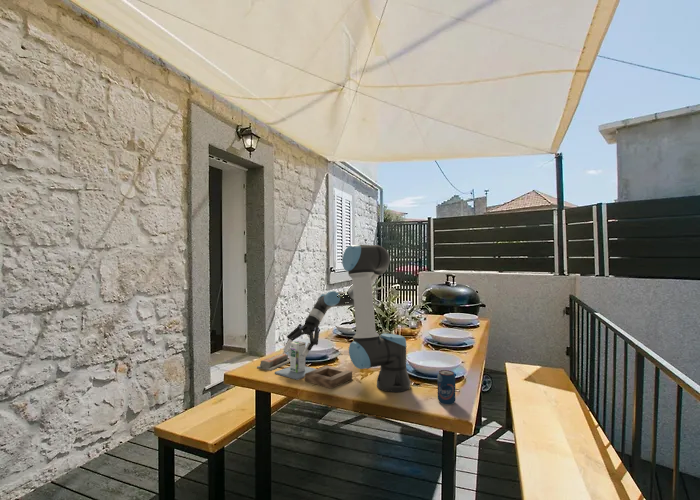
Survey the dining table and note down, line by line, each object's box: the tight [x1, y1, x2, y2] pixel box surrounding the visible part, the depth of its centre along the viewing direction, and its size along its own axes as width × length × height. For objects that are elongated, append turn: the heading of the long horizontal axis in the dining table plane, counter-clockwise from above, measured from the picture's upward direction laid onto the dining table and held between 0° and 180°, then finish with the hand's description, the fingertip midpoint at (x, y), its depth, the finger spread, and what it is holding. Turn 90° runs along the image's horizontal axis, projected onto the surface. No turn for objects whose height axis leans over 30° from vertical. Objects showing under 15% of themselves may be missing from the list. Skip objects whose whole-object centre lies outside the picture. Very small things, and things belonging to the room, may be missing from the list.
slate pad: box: [274, 365, 317, 381], centre depth 178 cm, size 16×16×1 cm
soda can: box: [437, 369, 456, 406], centre depth 141 cm, size 7×7×12 cm
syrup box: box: [289, 340, 307, 373], centre depth 178 cm, size 6×6×14 cm
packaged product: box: [256, 353, 290, 371], centre depth 191 cm, size 18×5×10 cm
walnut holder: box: [304, 364, 353, 389], centre depth 167 cm, size 16×16×4 cm
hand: (294, 353), depth 176 cm, fingers open, 13 cm apart
